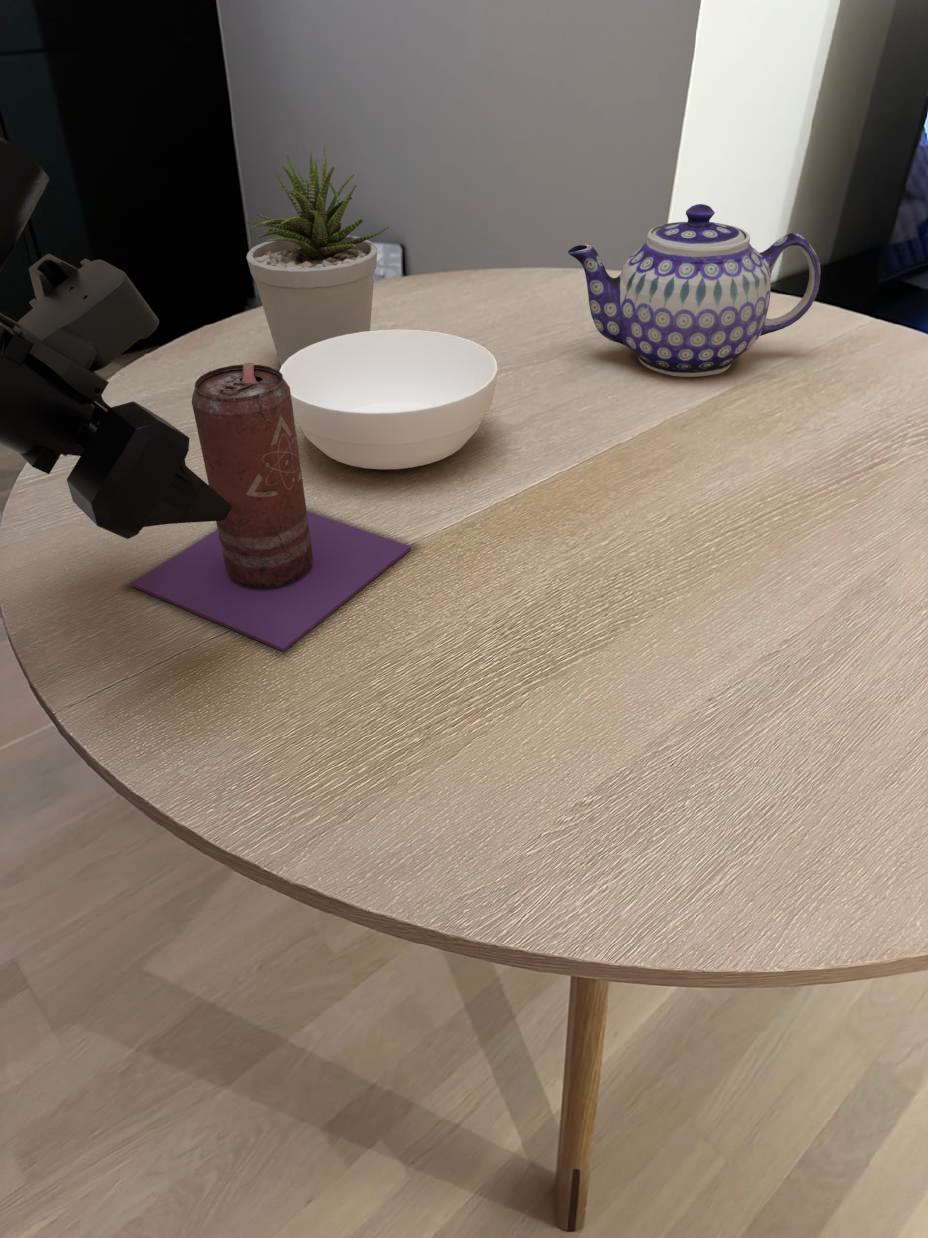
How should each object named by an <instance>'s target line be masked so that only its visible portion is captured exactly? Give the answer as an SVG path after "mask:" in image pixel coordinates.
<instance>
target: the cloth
mask: <svg viewBox="0 0 928 1238" xmlns="http://www.w3.org/2000/svg"><path fill="white" fill-rule="evenodd" d="M307 517H308V525H309V532H310V540H311V547H312V556H313V559H312V561H311V563H310V565H309V567H308V569H307V571H306V573H304V574H303V575H302V576H301V577H300V578H299V579H297V580H295V581H293V582H291V583H289V584H286V585H283V586H280V587H275V588H265V589H263V588H252V587H248V586H245V585H242V584H241V583H239V582H238V581H236V580H235V579H234V578H233V577H231V576H230V575H229V573H228V571H227V570H226V567H225V562H224V557H223V552H222V548H221V543H220V538H219V533H218V528H217V529H215V530H214V531H212V532H211V533H209V534H208V535H206V536H204V537H203V538H201V539H199V540H198V541H196V542H195V543H193V544H192V545H190V546H188V547H187V548H185V549H183V550H182V551H181V552H178V553H177V554H176V555H174V556H172V557H171V558H169V559H168V560H166V561H164V562H163V563H161V564H160V565H158V566H156V567H155V568H153V569H151V570H150V571H148V572H147V573H145V574H144V575H142V576H140V577H139V578H137V579H135V580H134V581H132V582H131V587H133V588H135V589H138V590H140V591H142V592H144V593H146V594H149V595H151V596H154V597H156V598H159V599H160V600H163V601H165V602H167V603H169V604H172V605H174V606H177V607H179V608H181V609H183V610H186V611H188V612H190V613H192V614H195V615H197V616H200V617H202V618H204V619H206V620H209V621H212V622H214V623H216V624H219V625H221V626H222V627H225V628H228V629H229V630H232V631H234V632H237V633H239V634H241V635H243V636H246V637H249V638H251V639H253V640H256V641H257V642H260V643H262V644H264V645H266V646H270V647H271V648H274V649H276V650H279V651H281V652H283V653H284V652H286V651H287V650H288V649H289V648H291V647H292V646H293V645H294V644H295V643H297V642H298V641H299V640H301V639H302V638H303V637H304V636H306V635H307V634H308V633H309V632H310V631H312V630H313V629H314V628H316V626H318V625H319V624H320V623H322V622H323V621H324V620H325V619H326V618H328V617H329V616H331V614H333V613H334V612H335V611H336V610H338V609H339V608H340V607H342V606H343V605H344V604H345V603H346V602H348V601H349V600H350V599H352V598H353V597H354V596H355V595H357V594H358V593H360V591H361V590H363V589H364V588H365V587H367V586H368V585H369V584H370V583H372V582H373V581H374V580H375V579H377V578H378V577H379V576H380V575H381V574H382V573H384V572H385V571H386V570H388V569H389V568H390V567H391V566H393V565H394V564H395V563H396V562H398V561H399V560H400V559H402V557H404V556H405V555H406V554H408V553H409V552H410V551H411V550H412V546H410V545H408V544H405V543H401V542H399V541H395V540H393V539H390V538H387V537H384V536H381V535H379V534H375V533H373V532H369V531H368V530H367V531H366V530H364V529H360V528H358V527H354V526H351V525H348V524H346V523H343V522H340V521H337V520H334V519H331V518H328V517H326V516H322V515H319V514H317V513H314V512H310V511H308V510H307Z"/></svg>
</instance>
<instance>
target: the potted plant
mask: <svg viewBox="0 0 928 1238" xmlns="http://www.w3.org/2000/svg"><path fill="white" fill-rule="evenodd" d="M325 148H326V147H323V164H322V169H321V171H322V172H321V178H320V177H319V169H318V159H317V158H315V160H314V164H313V155H312V152H310V153H309V176H308V177H309V178H308V179H307V177H305V178H303V176H302V174H301V172H300V171H299V170H297V172H296V170H295V169H294V167H293V166H294V165H293V164H292V161H291V158H290V156H289V154H288V152H287V151H286V150H285V151H284V152H285V155H286V156H285V157H286V161H287V164H288V167H289V170H290V171H289V170H288V169H287V168H286V167H284V166H283V165H281V168H282V169H283V170H284V172H285V173H286V175H287V177H288V178H289V180H290V182H291V185H292V188H293V189H291V191H290V190H288V188H287V187H286V185H285V184H284V182H283V181H282V179H281V178H280V176H279V174H278V172H277V170H276V168H274V169H273V171H274V173H275V175H276V177H277V179H278V181H279V184H280V186H281V188H282V190H283V191H284V193H285V194H286V196H287V198H288V199H289V201H290V202H291V204H292V206H293V207H294V209H295V211H296V213H297V215H298V216H292V217H289V218H288V217H287V218H272V217H268V216H266V215H261V214H258V213H256V216H257V217H260V218H262V219H264V220H265V221H261V222H259V221H258V222H256V221H251V222H250V221H247V222H246V224H250V225H252V226H251V229H253V228H258V227H261V226H264V227H270V228H269V229H268V232H265V233H263V234H259V235H258V236H257V238H258V239H261V238H265V237H267V236H273V235H277V236H280V237H276V238H270V239H267V240H266V241H265V242H262V243H260V244H257V245H255V246H253V247H252V248H251V249H250V250H249V251H248V252H247V254H246V257H245V258H246V261H247V265H248V267H249V270H250V275H251V276H252V278H253V279H254V281H255V285H256V289H257V292H258V295H259V298H260V300H261V304H262V308H263V311H264V315H265V318H266V321H267V322H266V323H267V325H268V328H269V332H270V334H271V339H272V341H273V344H274V348H275V352H276V355H277V357H278V360H279V362H280V365H281V366H282V365H283V364H284V363H285V362H286V360H287V359H288V358H289V357H291V356H292V355H294V354H295V353H297V352H298V351H300V350H302V349H304V348H306V347H308V346H310V345H312V344H315V343H318V342H321V341H324V340H327V339H330V338H334V337H338V336H342V335H347V334H353V333H359V332H365V331H371V322H372V321H371V320H372V308H373V296H374V282H375V270H376V269H377V263H378V262H377V261H378V247H377V245H376V244H374V243H373V242H372V241H370V240H371V239H373V238H375V237H377V236H380V235H381V234H382V233H384V232H385V231H387V229H389V226H387V227H384V228H383V229H381V230H379V231H377V232H374V233H372V234H371V233H370V234H368V235H364V236H356V235H351V233H352V232H353V231H354V230H356V229H357V227H359V226H360V225H362V223H364V219H363V216H364V214H363V213H362V214H361V217H360V218H359V219H357V220H356V221H354V222H353V223H350V224H349V225H348V226H346V227H343V228H342V222H341V221H342V218H343V216H344V214H345V212H346V209H347V207H348V204H349V202H350V201H351V200H352V199H353V197H352V195H353V193H354V191H355V189H356V188H357V184H354V186H353V188H351V190H350V191H349V193H348V194H347V196H346V197H345V199H343V200H340V197H339V196H340V195H341V193H342V191H343V189H344V188H345V187H346V186H347V184H348V183H349V182H350V181H351V180H352V179H353V177H354V176H355V173H354V174H352V175H350V176H349V177H348V178H347V179H346V180H345V181H344V183H343V184H342V185H341V186H340V187H339V189H338V190H337V192H336V189H335V188H334V186H333V184H332V182H331V177H332V175H333V173H334V171H335V167H334V166H333V167H331V168H330V169H329V171H327V153H326V149H325ZM297 173H298V174H297ZM298 175H299V176H298ZM320 179H321V180H320ZM329 187H330V189H331V191H332V193H333V195H334V196H333V198H332V200H331V202H330V203H329V206H328V208H327V207H326V205H327V198H328V192H329ZM326 209H327V210H326Z"/></svg>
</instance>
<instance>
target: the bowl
mask: <svg viewBox="0 0 928 1238" xmlns="http://www.w3.org/2000/svg"><path fill="white" fill-rule="evenodd" d="M278 371H279V372H280V373H281V374H282V375H283V379H284V380H285V381H286V383H287V384H288V385H289V387H290V392H291V400H292V407H293V414H294V422H295V424H297V425H298V426H300V428H301V430H302V433H303V434H304V435H305V437H306V439H307V440H308V441H309V442H310V443H312V445H314V446H315V447H316V448H317V449H318V450H320V451H321V453H323V454H325V455H326V456H327V457H328V458H330V459H332V460H334V461H336V462H339V463H341V464H345V465H348V466H350V467H356V468H363V469H370V470H371V469H372V470H401V469H408V468H409V469H410V468H415V467H416V468H417V467H420V466H425V465H429V464H432V463H435V462H438V461H441V460H444V459H445V458H448V457H450V456H452V455H453V454H455V453H456V452H458V451H459V450H461V449H462V448H463V447H464V446H465V444H466V443H467V442H468V441H469V440H470V439H471V437H473V436H474V434H475V433H476V432H477V431H478V430H479V428H480V425H481V423H482V420H483V417H484V416H485V415H486V413H487V412H488V411H489V410H490V407H491V405H492V402H493V399H494V394H495V389H496V384H497V379H498V374H499V365H498V361H497V360H496V358H495V356H494V355H493V353H492V352H490V351H489V350H488V349H487V348H486V347H485V346H483V345H481V344H478V343H477V342H475V341H473V340H470V339H467V338H464V337H461V336H458V335H454V334H449V333H444V332H439V331H431V330H424V329H423V330H422V329H405V328H404V329H403V328H401V329H379V330H370V331H365V332H359V333H353V334H347V335H342V336H338V337H334V338H330V339H327V340H324V341H321V342H318V343H315V344H312V345H310V346H308V347H306V348H304V349H302V350H300V351H298V352H297V353H295V354H294V355H292V356H291V357H289V358H288V359H287V360H286V362H285V363H284V364H283V365H281V367H280V369H279V370H278Z"/></svg>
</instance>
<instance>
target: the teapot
mask: <svg viewBox="0 0 928 1238" xmlns="http://www.w3.org/2000/svg"><path fill="white" fill-rule="evenodd" d="M715 213H716V211H714V209H713V208H712V206H709V205H708V204H703V203H699V204H694V205H691V206H690V207H689V208H687V210H686V211H685V216H686V218H687V221H677V222H669V223H664V224H660V225H657V226H654V227H652V228H651V229H650V230H649V231H648V232H647V237H646V240H645V242H644V243H643V244H642V246H641V247H639V248H638V249H636V250H635V251H634V252H633V253H632V254H631V255H630V256H629V257H628V259H626V262H625V263H624V264H623V267H622V269H621V271H620V274H619V275H618V276H617V277H613V276H610V275H609V273H608V272H607V270H606V267H605V265H604V263H603V260H602V258H601V256H600V254H599V252H598V251H597V250H596V249H595V247H594V246H592V245H591V244H578V245H575V246H573V247H571V248H570V249H568V250H567V254H568V255H569V256H570V257H572V258H574V259H576V261H578V262H579V264H581V266H582V268H583V271H584V275H585V281H586V287H587V288H586V289H587V297H588V305H589V311H590V316H591V318H592V322H593V323H594V326H595V328H596V330H597V331H598V332H599V333H600V334H601V335H602V336H603V337H604V338H606V339H607V340H609V341H611V342H614V343H618V344H621V345H623V346H625V347H627V348H628V349H629V350H630V351H631V352H632V353H633V354H634V355H635V356H637V359H638V361H639V363H641V364H642V365H643V366H644V367H645V368H648V369H649V370H652V371H654V372H656V373H660V374H664V375H668V376H673V377H682V378H683V377H685V378H686V377H688V378H689V377H692V378H693V377H694V378H695V377H707V376H713V375H719V374H721V373H724V372H726V371H727V370H728V369H729V368H730V367H731V366H732V364H733V362H735V361H736V360H737V359H738V358H739V357H741V356H742V355H743V354H744V353H745V352H746V351H747V350H748V349H750V348H751V347H752V346H753V345H754V344H755V343H756V342H757V340H758V339H759V338H760V337H761V336H765V335H768V334H771V333H775V332H777V331H780V330H783V329H785V328H788V327H790V326H791V325H793V324H794V323H796V322H797V321H799V320H800V319H802V318H803V316H804V315H806V313H807V312H808V311H809V310H810V308H811V307H812V305H813V303H814V302H815V300H816V298H817V295H818V292H819V289H820V283H821V263H820V259H819V257H818V254H817V252H816V251H815V250H814V248H813V246H812V245H811V244H810V242H809V241H808V240H807V239H806V238H805V237H804V236H803V235H801V234H799V233H793V232H791V233H788V234H785V235H784V236H782V237H780V238H779V239H777V240H776V241H774V243H772V244H771V245H770V246H769V247H768V248H767V249H765V250H763V251H761V252H759V251H758V250H757V249H756V248H755V247H753V246H752V244H751V243H750V242H751V236H750V234H749V233H748V232H747V231H746V230H744V229H743V228H740V227H737V226H735V225H729V224H726V223H719V222H713V221H711V219H712V218H713V216H714V215H715ZM790 247H796V248H798V249H799V251H801V252H802V253H803V255H804V258H805V259H806V262H807V265H808V272H809V273H808V274H809V275H808V282H807V286H806V290H805V292H804V294H803V295H802V297H801V299H800V301H799V302H797V304H796V305H795V306H794V307H793V308H792V309H791V310H790V311H788V312H786V313H785V314H783V315H781V316H778V317H775V318H768V317H767V316H768V311H769V306H770V301H771V291H772V290H771V283H772V282H771V281H772V280H771V279H772V273H773V270H774V268H775V265H776V263H777V261H778V260H779V257H780V256H781V254H782V253H783V252H784V251H785V250H786V249H788V248H790Z"/></svg>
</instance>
